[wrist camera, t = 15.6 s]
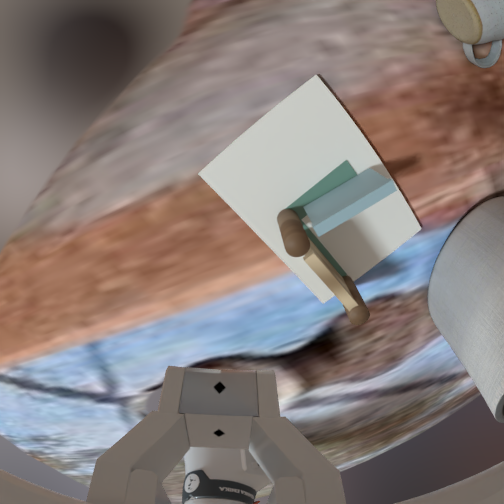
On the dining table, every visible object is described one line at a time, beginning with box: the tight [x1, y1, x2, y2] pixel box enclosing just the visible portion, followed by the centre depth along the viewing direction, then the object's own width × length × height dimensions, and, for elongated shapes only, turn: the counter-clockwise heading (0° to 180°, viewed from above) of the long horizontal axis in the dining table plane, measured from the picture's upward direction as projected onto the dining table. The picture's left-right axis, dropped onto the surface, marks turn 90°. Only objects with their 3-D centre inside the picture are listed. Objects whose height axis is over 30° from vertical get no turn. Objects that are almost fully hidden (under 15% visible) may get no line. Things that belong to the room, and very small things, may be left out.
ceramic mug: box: [436, 0, 504, 68], centre depth 20 cm, size 11×8×8 cm
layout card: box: [198, 75, 422, 304], centre depth 32 cm, size 21×15×1 cm
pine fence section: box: [277, 209, 370, 325], centre depth 32 cm, size 13×2×7 cm, turn 41°
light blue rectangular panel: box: [303, 168, 397, 237], centre depth 29 cm, size 8×1×5 cm, turn 123°
